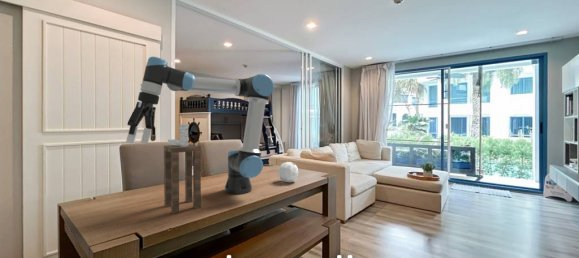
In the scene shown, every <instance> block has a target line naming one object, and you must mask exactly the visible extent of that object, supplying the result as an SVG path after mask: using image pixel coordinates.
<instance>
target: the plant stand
mask: <svg viewBox="0 0 579 258" xmlns="http://www.w3.org/2000/svg"><path fill="white" fill-rule="evenodd" d="M201 149H202V148H201V146H200V145H196V144H191V143H188V147H180V146H175V145H171V144H169V145H164V146H163V171H164V172H163V174H164V175H163V186H164V189H163V190H164V191H163V193H164V196H163V197H164V198H163V199H164V203H163V204H164V206H165V208H167V207H168V208H169V207H170V209H171V210H170V212H171V213H172V214H177V213H180V153H184V168H185V169H184V171H185V172H184V175H185V176H184V177H185V180H184V185H185V186H184V187H185V189H184V190H185V191H184V194H185V196H184V197H185V200H184V202H186V203H192V202H193V205H192V207H193V208H194V209H199V208H201V207H202V198H201V197H202V196H201V195H202V192H201V191H202V189H201V188H202V186H201V185H202V182H201V181H202V175H201V174H202V173H201V171H202V170H201V169H202V167H201V166H202V165H201V163H202V161H201V160H202V159H201V158H202V155H201V154H202V153H201Z"/></svg>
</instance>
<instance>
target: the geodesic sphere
mask: <svg viewBox="0 0 579 258" xmlns="http://www.w3.org/2000/svg"><path fill="white" fill-rule="evenodd" d="M277 174H278V177H279V179H280V180H281V181H282V182H285V183H289V184H290V183H292V182H295V181H296V180H297V179H298V177H299V169H298V165H296V163H295V162H291V161H284V162H283V163H281V165H280V166H279V167H278V172H277Z"/></svg>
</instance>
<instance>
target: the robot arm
mask: <svg viewBox="0 0 579 258" xmlns="http://www.w3.org/2000/svg"><path fill="white" fill-rule="evenodd" d="M163 84H166V87H167V88H168V89H169V90H170V91H172V92H181V91H182V92H197V93H198V92H200V93H212V94H213V93H214V94H227V95H228V94H230V95H234V96H235V97H243V98H246V99H247V100H248V106H247V107H248V108H247V114H246V119H245V120H246V121H245V127H244V133H243V135H244V136H243V142H242V147H240V148H239V149H238V150H229V151H228V152H227V153H228V154H227V180H226V182H225V186H224V192H225V193H227V194H231V195H241V194H247V193H249V192H251V191H252V189H253V185H252V182H251V180H250V179H252V178H256V177H258V176H259V175H260V174H261V173H262V171H263V168H264V162H263V160H262V159H261V157H262V152H261V150H260V144H261V136H262V131H263V130H262V129H263V123H264V115H265V110H266V109H265V108H266V104H267V103H269V102H270V96H271V95H272V94H273V92H274V90H275V83H274V80H273V79H272V78H271V77H270V76H269V75H268V74H265V73H257V74H255V75H254V76H250V77H246V78H235V79H222V78H213V77H204V76H203V77H201V76H195V75H194V74H192V73H189V72H188V71H182V70H180V69H176V68H173V67H170V66H168V61H167V60H166V59H163V58H161V57H157V56H150V57H148V59H147V62H146V66H145V69H144V73H143V78H142V81H141V83H140V92H138V97H137V100H138V101H137V102H136V105H135V107H134V109H133V111H132V113H131V116H130V117H129V119H128V121H127V126H129V129H128V134H127V137H126V141H125V143H128V144H133V145H134V144H136V143H135V142H136V139H137V134H138V131H139V127H138V126H139V124H140V123H141V121H142V120H143V118H144V125H145V127H144V128H143V131H142V136H141V139H140V143H143V144H149V140H150V137H151V131H152V130H155V121H156V120H155V117H156V115H155V114H156V109H157V108H156V107H155V106H154V105H156V106H157V105H158V104H159V101H160V95H161V93H162V88H163Z"/></svg>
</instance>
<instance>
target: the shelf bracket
mask: <svg viewBox="0 0 579 258" xmlns="http://www.w3.org/2000/svg"><path fill="white" fill-rule="evenodd" d="M178 128H179V129H178V130H179V135H178V136H179V138H178V139H168V140H167V144H169V145H175V146H180V147H188V144H189V124H185V123H184V124H183V123H180V124H179V127H178Z"/></svg>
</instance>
